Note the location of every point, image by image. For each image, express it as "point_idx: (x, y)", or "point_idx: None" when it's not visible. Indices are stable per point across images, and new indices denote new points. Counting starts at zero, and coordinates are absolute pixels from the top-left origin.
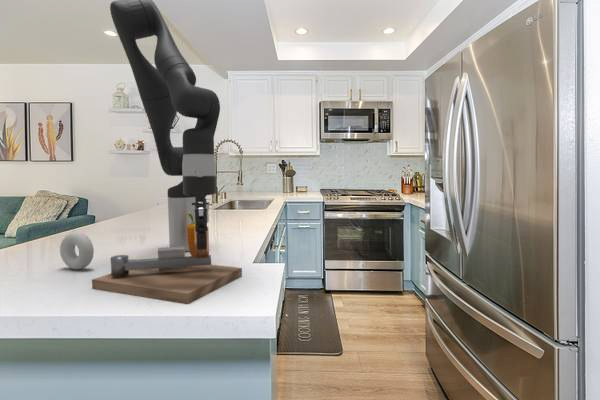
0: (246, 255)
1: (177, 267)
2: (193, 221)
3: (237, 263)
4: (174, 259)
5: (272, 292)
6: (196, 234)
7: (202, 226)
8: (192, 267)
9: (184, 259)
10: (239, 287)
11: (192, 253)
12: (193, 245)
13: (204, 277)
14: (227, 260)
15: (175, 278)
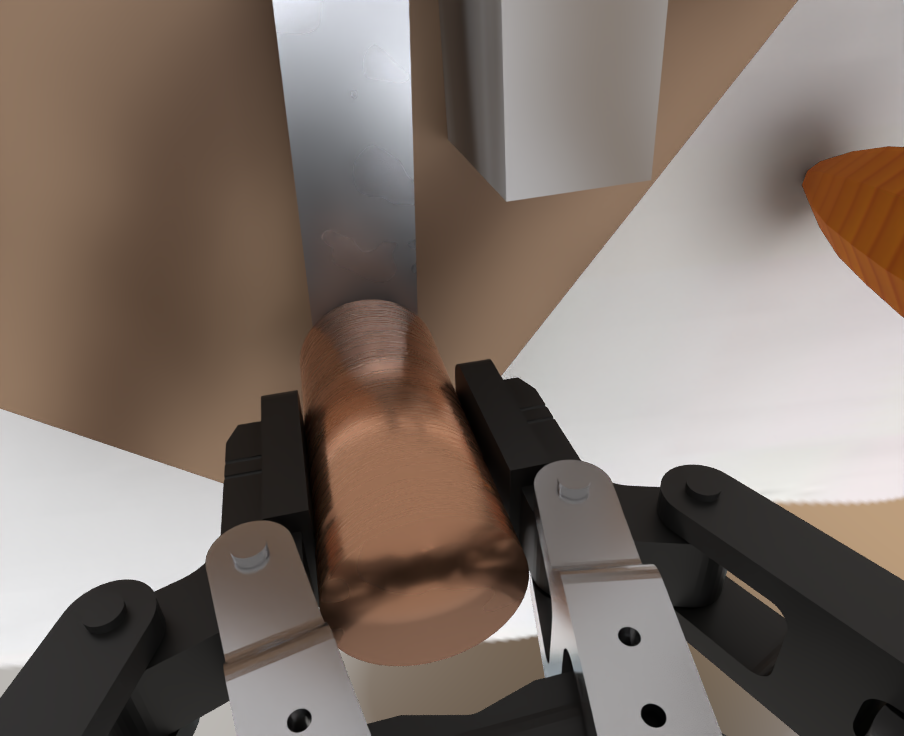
0: (841, 471)
1: (447, 68)
2: (228, 675)
3: (677, 442)
4: (284, 83)
5: (14, 656)
6: (333, 490)
7: (124, 726)
8: (486, 200)
9: (297, 198)
10: (115, 507)
11: (856, 171)
12: (894, 213)
13: (134, 337)
14: (783, 378)
15: (105, 85)
